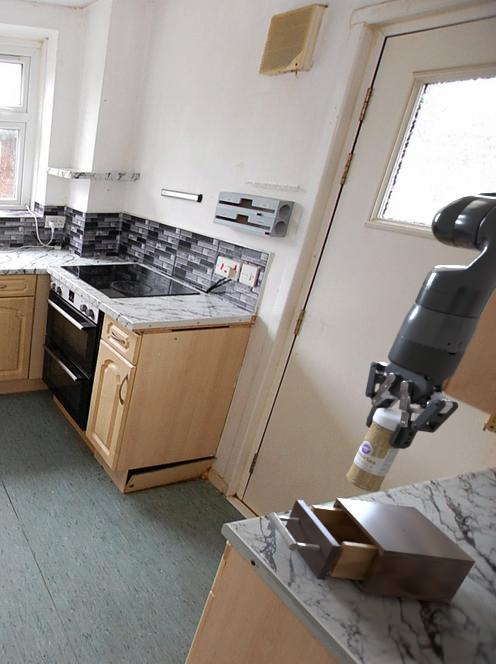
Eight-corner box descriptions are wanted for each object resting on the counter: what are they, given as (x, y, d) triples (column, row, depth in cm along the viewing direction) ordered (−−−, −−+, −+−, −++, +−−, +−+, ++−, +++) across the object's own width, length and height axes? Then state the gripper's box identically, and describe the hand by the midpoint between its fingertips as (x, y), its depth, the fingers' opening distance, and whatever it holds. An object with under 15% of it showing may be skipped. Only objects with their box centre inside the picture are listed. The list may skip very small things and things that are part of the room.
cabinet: (362, 592, 74) (384, 550, 71) (319, 536, 85) (336, 497, 82) (449, 603, 73) (475, 561, 70) (394, 546, 84) (415, 507, 81)
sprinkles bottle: (338, 476, 77) (369, 407, 73) (359, 473, 78) (391, 405, 74) (365, 495, 73) (400, 423, 68) (386, 492, 74) (422, 421, 70)
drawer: (286, 575, 75) (301, 541, 72) (255, 527, 84) (267, 495, 82) (396, 589, 74) (415, 555, 71) (352, 539, 84) (367, 507, 81)
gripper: (370, 319, 73) (332, 410, 79) (447, 355, 60) (394, 462, 66) (419, 324, 73) (377, 416, 79) (507, 362, 60) (448, 469, 66)
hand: (385, 436), depth 72 cm, fingers closed on sprinkles bottle, 4 cm apart
